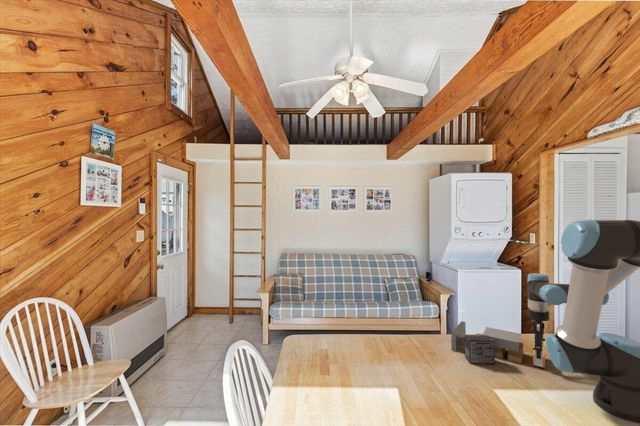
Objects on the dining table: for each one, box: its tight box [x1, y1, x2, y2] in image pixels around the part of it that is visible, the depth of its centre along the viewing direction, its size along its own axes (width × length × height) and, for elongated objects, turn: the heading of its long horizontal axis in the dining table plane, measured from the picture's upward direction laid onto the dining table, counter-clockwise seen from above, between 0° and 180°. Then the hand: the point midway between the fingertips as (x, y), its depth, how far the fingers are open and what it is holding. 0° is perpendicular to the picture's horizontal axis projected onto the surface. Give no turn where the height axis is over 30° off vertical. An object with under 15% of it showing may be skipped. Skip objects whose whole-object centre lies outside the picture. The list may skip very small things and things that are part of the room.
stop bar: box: [450, 321, 467, 352], centre depth 152 cm, size 20×2×8 cm, turn 142°
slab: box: [481, 326, 522, 352], centre depth 141 cm, size 12×14×4 cm
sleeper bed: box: [475, 333, 524, 364], centre depth 142 cm, size 11×19×5 cm, turn 52°
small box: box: [464, 334, 496, 366], centre depth 134 cm, size 11×6×10 cm, turn 84°
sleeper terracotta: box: [532, 345, 546, 369], centre depth 132 cm, size 11×4×4 cm, turn 142°
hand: (539, 360), depth 132 cm, fingers closed on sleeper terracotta, 11 cm apart
